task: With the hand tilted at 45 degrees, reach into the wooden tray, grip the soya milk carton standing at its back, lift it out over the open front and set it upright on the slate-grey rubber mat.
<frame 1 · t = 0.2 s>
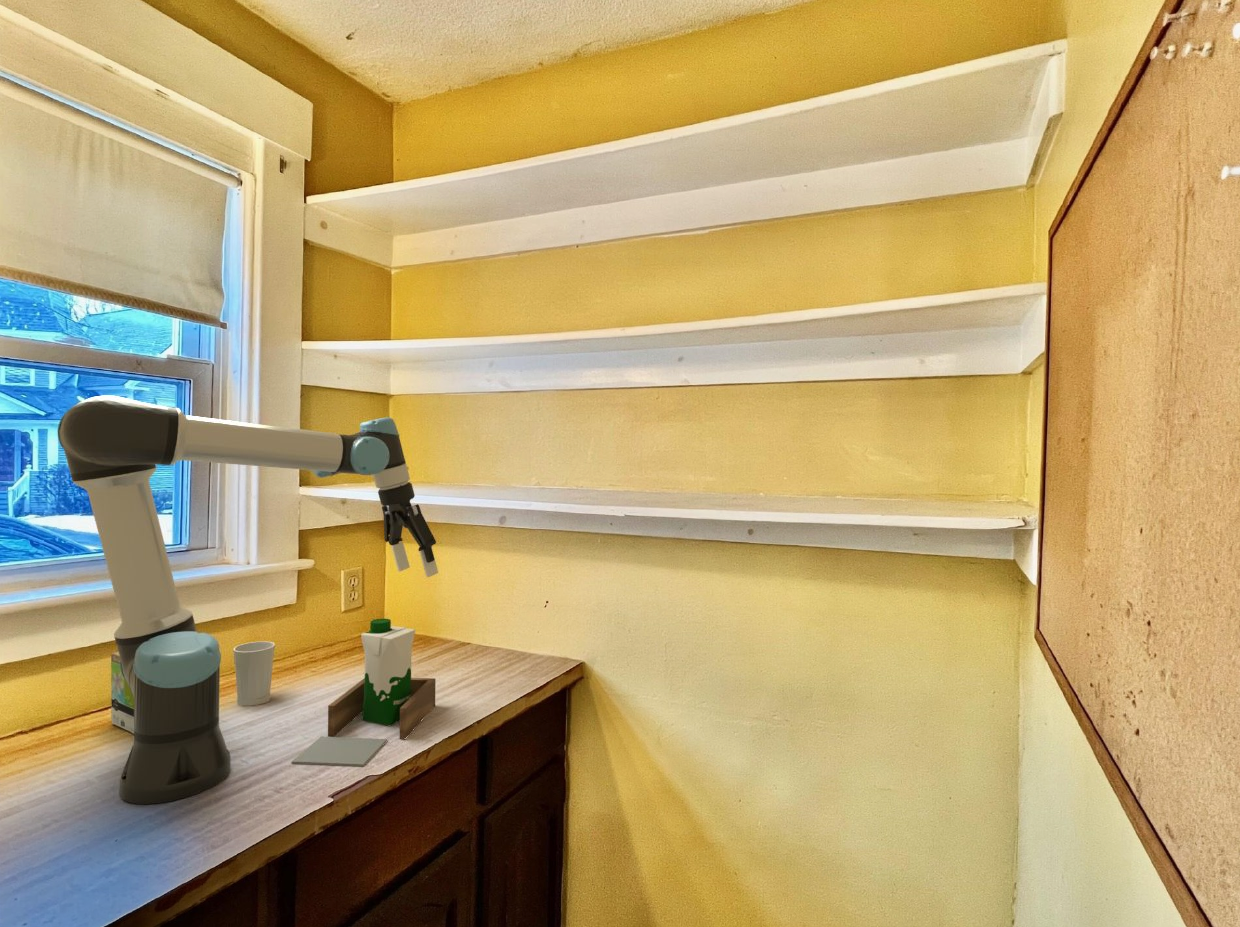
hand: (417, 572, 147), 28 cm above the worktop, tool tilted 15°, fingers open, 13 cm apart
cup: (253, 701, 139), on the worktop
mat: (341, 751, 116), on the worktop
soya milk: (387, 718, 131), resting in wooden tray
wooden tray: (382, 722, 129), on the worktop
tea box: (156, 725, 126), on the worktop
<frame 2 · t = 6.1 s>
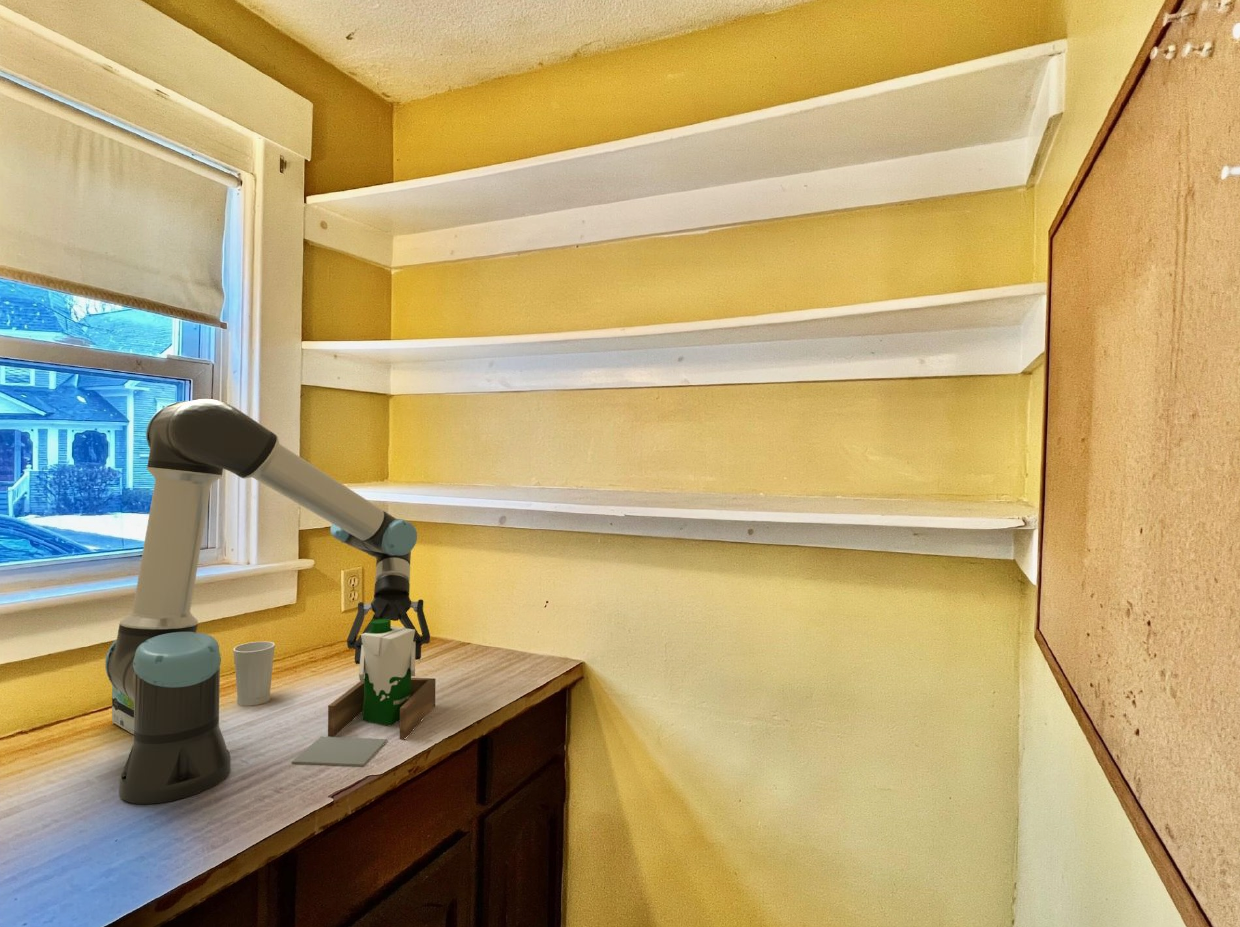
hand: (387, 675, 128), 10 cm above the worktop, tool tilted 45°, fingers closed on soya milk, 9 cm apart
soya milk: (387, 718, 131), resting in wooden tray, touching gripper
everything else where it was.
when the fingers open (12 cm above the worktop, at t = 12.6 s): soya milk drops 1 cm, resting on mat.
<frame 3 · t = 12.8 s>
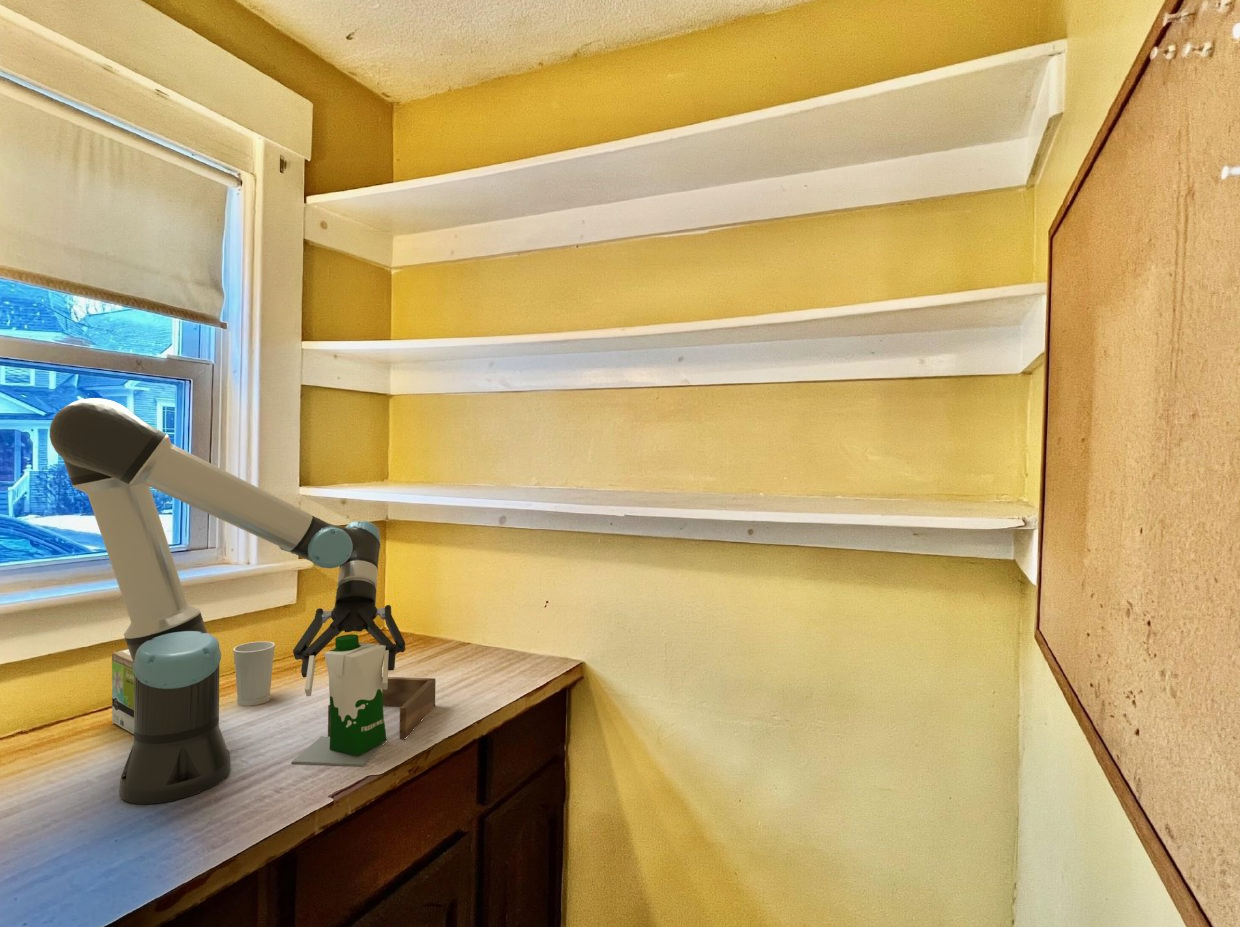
hand: (347, 689, 114), 12 cm above the worktop, tool tilted 45°, fingers open, 12 cm apart
soya milk: (358, 746, 117), resting on mat, touching gripper
everything else where it was.
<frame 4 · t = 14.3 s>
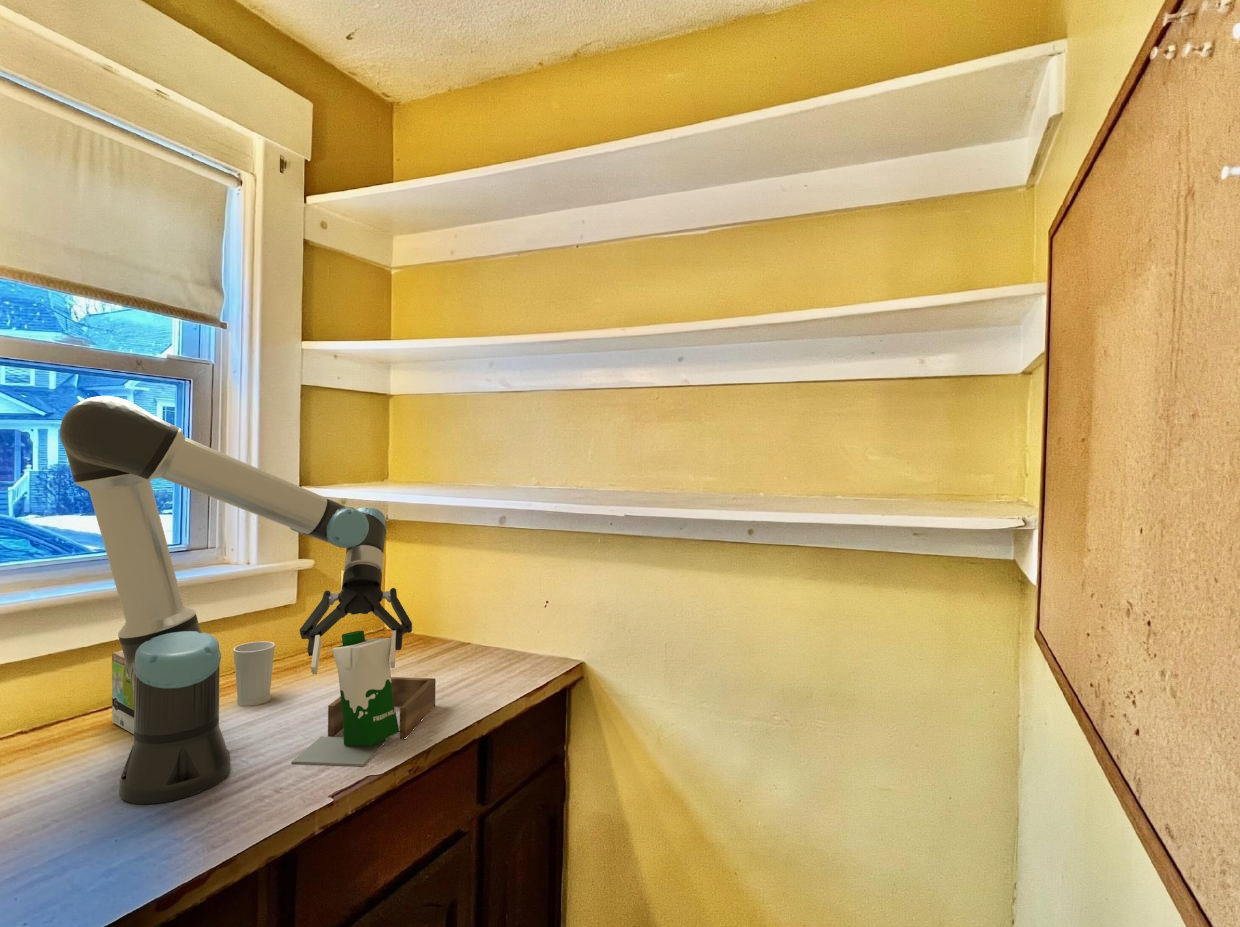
hand: (353, 667, 117), 15 cm above the worktop, tool tilted 45°, fingers open, 13 cm apart
soya milk: (372, 739, 119), point 1 cm above the worktop, touching mat
everything else where it was.
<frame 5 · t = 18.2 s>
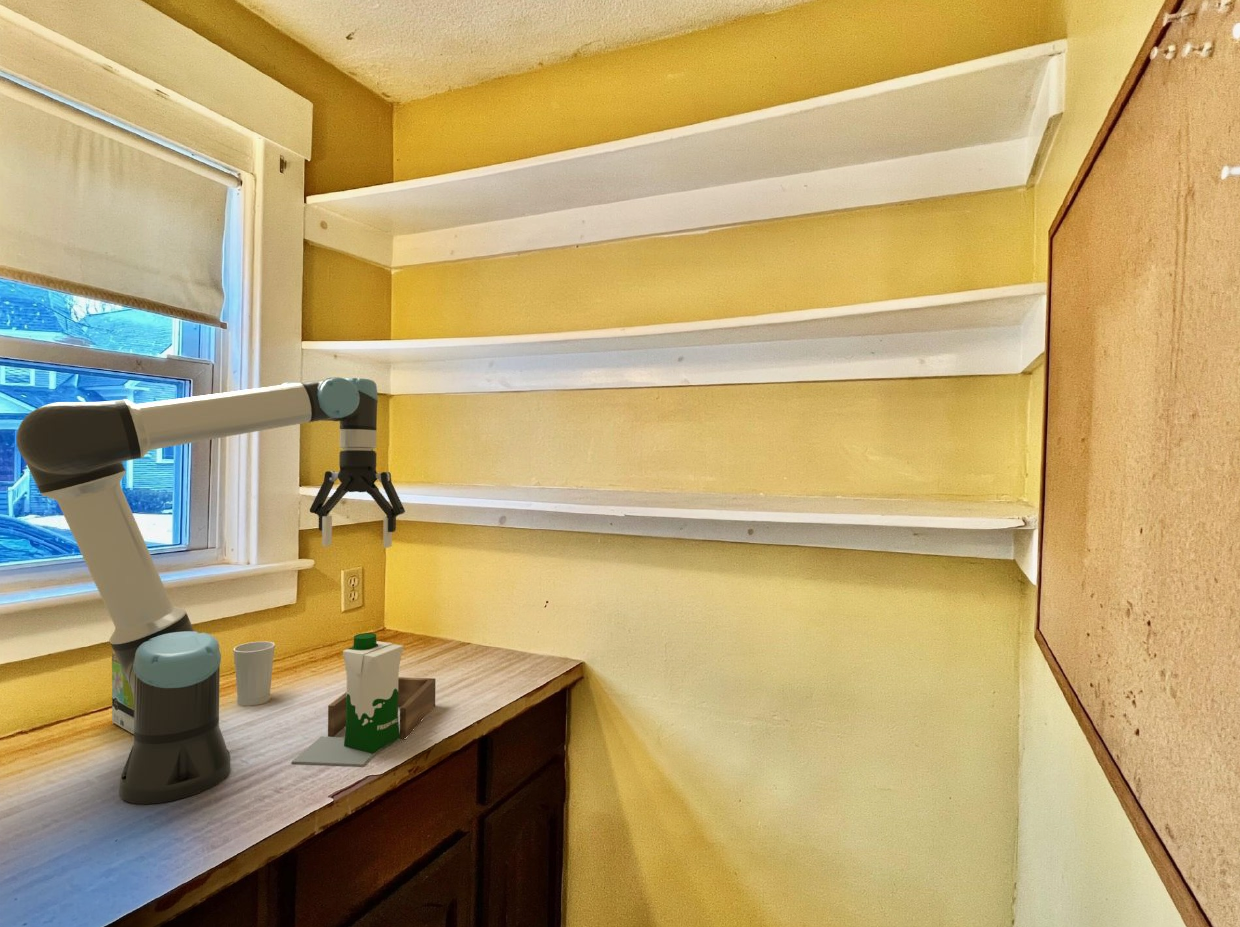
hand: (357, 546, 138), 35 cm above the worktop, tool pointing down, fingers open, 13 cm apart
at the end: soya milk inside the target area on the mat (5.5 cm from its centre), point 0.2 cm above the mat's base; soya milk tilted 0°; the gripper is holding nothing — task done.
